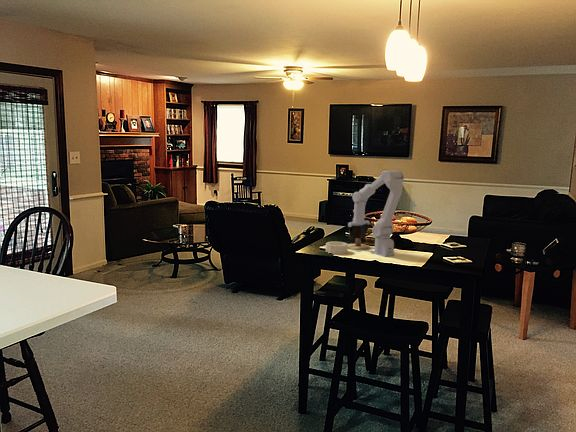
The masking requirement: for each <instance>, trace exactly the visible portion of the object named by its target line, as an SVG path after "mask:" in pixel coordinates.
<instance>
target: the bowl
mask: <svg viewBox="0 0 576 432" xmlns="http://www.w3.org/2000/svg"><path fill="white" fill-rule="evenodd" d="M348 244H349V243H347V242H343V241H327V242H326V243H325V253H326V252H328V253H327V254H329V253H332V254H331V255H342V254H343V255H344V253H345V254H347V253H348V249H347V248H348Z"/></svg>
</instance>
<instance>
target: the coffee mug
mask: <svg viewBox="0 0 576 432" xmlns="http://www.w3.org/2000/svg"><path fill="white" fill-rule="evenodd" d="M350 222H351V221H350ZM350 222H348V223H350ZM355 227H356V228H357V231H356V237H355V239H356V238H360V239H361V240H362V238H361V228H360V225H359V226H355ZM348 236H349V237H348V238H349V240H350V241H352V242H353V241H354V242H355V240H353V239H351V234H350V231H349V230H348Z"/></svg>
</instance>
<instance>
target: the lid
mask: <svg viewBox="0 0 576 432" xmlns="http://www.w3.org/2000/svg"><path fill="white" fill-rule="evenodd" d="M347 244H348V249H347V250H349V249H353V250H366V251H368V250H367V249H370V247H371V246H370V245H369V244H364V243H362V238H361V239H360V238H356V239H355V241H354V243H347ZM353 250H352V251H353Z"/></svg>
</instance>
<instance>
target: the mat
mask: <svg viewBox="0 0 576 432" xmlns="http://www.w3.org/2000/svg"><path fill="white" fill-rule="evenodd" d="M347 250H350V251H354V252H357V253H359V252H366V251H370V250H371V251H373V250H375V246H370V249H367V250H353V249H348V248H347Z"/></svg>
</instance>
